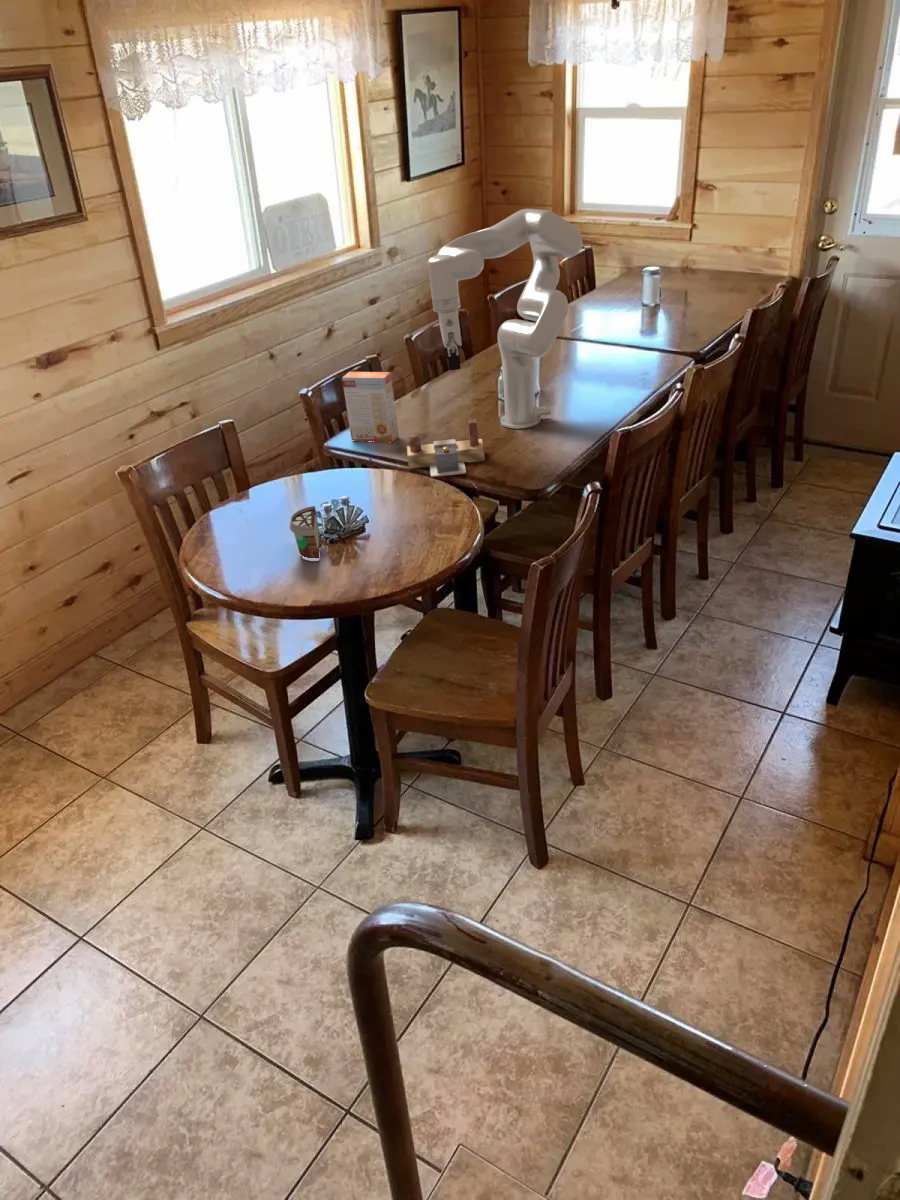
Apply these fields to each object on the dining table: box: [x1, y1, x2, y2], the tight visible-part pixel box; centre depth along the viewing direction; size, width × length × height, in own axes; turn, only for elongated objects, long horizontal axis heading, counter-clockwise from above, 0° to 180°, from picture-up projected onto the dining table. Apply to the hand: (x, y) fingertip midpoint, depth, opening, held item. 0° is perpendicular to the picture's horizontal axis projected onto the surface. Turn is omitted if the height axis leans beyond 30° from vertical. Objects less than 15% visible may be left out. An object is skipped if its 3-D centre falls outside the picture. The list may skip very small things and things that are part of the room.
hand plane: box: [406, 418, 486, 469], centre depth 259 cm, size 22×7×11 cm, turn 94°
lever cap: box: [435, 446, 459, 473], centre depth 254 cm, size 6×4×6 cm
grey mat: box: [429, 462, 467, 478], centre depth 256 cm, size 10×7×1 cm
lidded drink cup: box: [289, 505, 321, 558], centre depth 218 cm, size 12×6×10 cm, turn 5°
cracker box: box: [341, 371, 399, 444], centre depth 275 cm, size 14×6×21 cm, turn 71°
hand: (453, 363), depth 255 cm, fingers open, 9 cm apart
